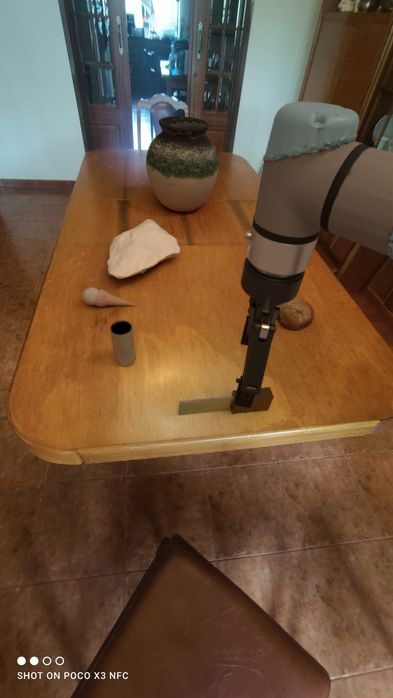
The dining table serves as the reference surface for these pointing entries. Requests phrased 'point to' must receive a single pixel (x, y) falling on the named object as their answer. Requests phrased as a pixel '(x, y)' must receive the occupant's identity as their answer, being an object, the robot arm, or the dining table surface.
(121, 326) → the grey cylinder
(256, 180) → the dining table surface
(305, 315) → the bread roll
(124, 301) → the ice cream cone
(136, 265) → the white rock slab
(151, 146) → the vase
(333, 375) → the dining table surface
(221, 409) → the knife
